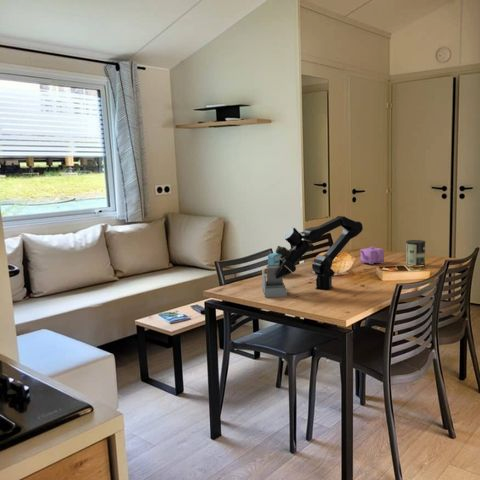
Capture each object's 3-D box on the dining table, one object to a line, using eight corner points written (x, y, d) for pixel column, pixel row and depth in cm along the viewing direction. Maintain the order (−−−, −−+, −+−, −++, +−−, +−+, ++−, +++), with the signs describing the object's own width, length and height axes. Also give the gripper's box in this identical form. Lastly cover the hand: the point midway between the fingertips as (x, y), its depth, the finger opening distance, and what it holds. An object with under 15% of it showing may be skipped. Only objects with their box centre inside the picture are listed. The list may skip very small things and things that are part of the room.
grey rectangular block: (282, 289, 244) (281, 264, 242) (282, 291, 241) (282, 266, 239) (267, 290, 244) (266, 265, 242) (267, 292, 241) (267, 266, 239)
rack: (282, 288, 250) (282, 264, 248) (286, 296, 235) (286, 271, 233) (262, 289, 250) (261, 265, 248) (264, 297, 234) (264, 271, 233)
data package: (274, 277, 276) (273, 255, 274) (268, 276, 279) (267, 254, 278) (289, 273, 284) (288, 252, 282) (283, 272, 287) (282, 251, 286)
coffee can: (424, 264, 295) (425, 239, 293) (425, 267, 286) (425, 242, 284) (405, 264, 298) (406, 239, 296) (405, 267, 289) (406, 242, 287)
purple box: (366, 267, 293) (366, 249, 292) (350, 263, 305) (350, 246, 304) (390, 263, 301) (390, 246, 300) (374, 260, 314) (374, 243, 312)
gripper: (283, 237, 248) (261, 260, 249) (288, 242, 230) (264, 268, 231) (300, 252, 249) (278, 276, 251) (306, 259, 231) (282, 284, 232)
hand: (275, 275), depth 241 cm, fingers open, 9 cm apart
